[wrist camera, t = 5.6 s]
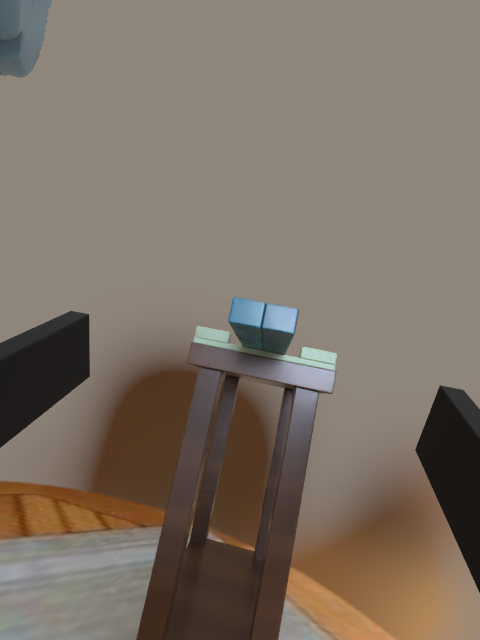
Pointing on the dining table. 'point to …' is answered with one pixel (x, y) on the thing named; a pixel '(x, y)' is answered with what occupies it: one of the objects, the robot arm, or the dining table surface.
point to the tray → (306, 354)
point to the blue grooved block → (263, 324)
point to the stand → (201, 553)
